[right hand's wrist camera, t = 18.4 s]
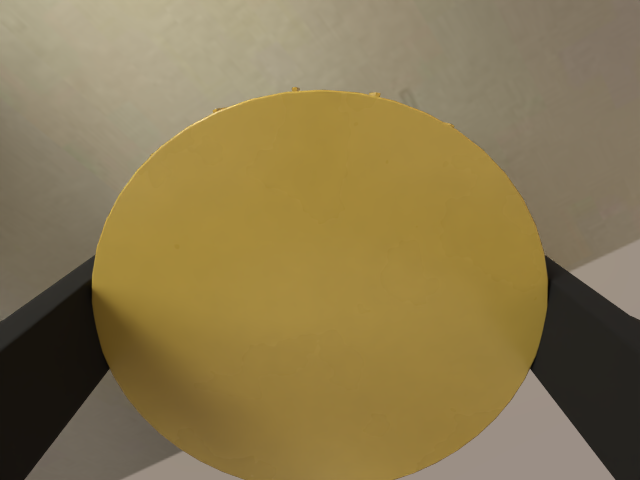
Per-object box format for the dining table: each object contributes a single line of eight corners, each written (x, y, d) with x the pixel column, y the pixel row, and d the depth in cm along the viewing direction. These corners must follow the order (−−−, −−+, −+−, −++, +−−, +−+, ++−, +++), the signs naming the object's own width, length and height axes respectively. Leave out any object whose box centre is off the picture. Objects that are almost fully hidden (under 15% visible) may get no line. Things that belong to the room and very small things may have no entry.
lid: (494, 33, 9) (533, 19, 8) (529, 405, 13) (560, 451, 12) (52, 155, 10) (0, 168, 9) (205, 469, 14) (189, 520, 13)
